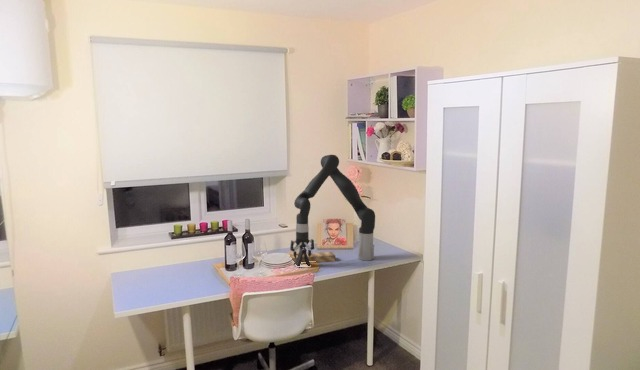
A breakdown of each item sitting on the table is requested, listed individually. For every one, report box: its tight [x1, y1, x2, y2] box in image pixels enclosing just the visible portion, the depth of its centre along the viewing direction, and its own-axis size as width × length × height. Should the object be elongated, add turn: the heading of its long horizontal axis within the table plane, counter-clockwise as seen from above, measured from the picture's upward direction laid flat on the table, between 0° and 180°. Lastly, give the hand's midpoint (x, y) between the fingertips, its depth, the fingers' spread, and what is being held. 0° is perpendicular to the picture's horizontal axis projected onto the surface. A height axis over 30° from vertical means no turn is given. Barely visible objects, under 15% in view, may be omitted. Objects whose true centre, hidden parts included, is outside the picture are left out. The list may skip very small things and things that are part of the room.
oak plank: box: [289, 251, 336, 263], centre depth 282 cm, size 28×8×4 cm, turn 106°
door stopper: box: [294, 247, 311, 266], centre depth 270 cm, size 9×6×12 cm, turn 106°
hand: (302, 256), depth 270 cm, fingers open, 8 cm apart
